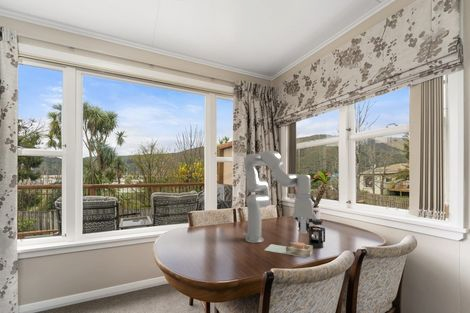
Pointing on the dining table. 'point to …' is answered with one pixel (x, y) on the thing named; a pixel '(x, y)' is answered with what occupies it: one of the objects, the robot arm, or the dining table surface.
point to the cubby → (300, 250)
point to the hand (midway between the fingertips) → (303, 229)
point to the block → (299, 245)
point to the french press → (315, 243)
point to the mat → (279, 249)
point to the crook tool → (303, 225)
